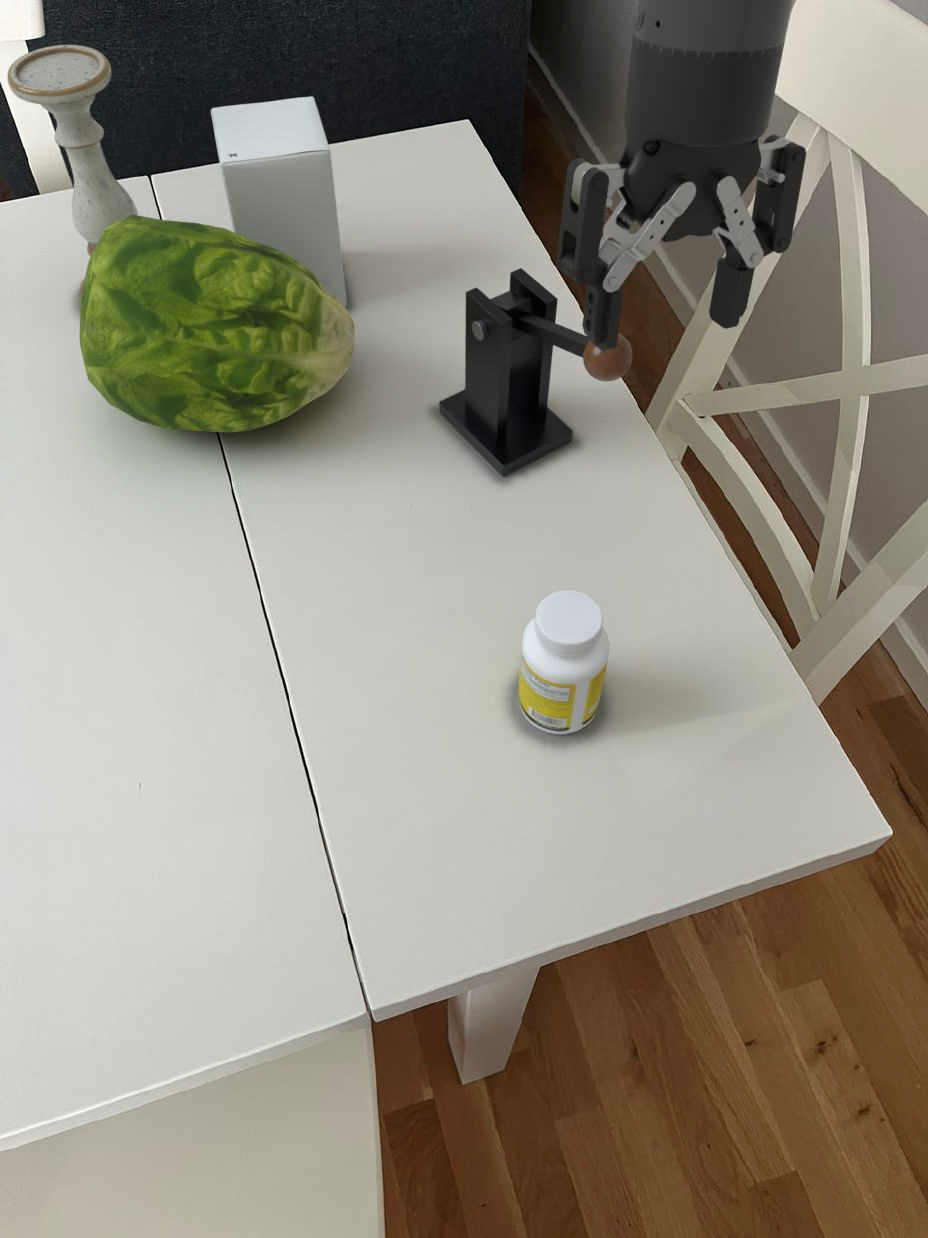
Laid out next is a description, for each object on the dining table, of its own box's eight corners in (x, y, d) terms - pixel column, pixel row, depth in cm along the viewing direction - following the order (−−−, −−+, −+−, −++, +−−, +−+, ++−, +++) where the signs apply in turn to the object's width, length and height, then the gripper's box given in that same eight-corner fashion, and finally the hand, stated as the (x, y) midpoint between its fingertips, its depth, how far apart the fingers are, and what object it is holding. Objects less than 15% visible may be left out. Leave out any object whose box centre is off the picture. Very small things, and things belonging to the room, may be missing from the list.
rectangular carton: (350, 308, 90) (332, 149, 78) (251, 323, 89) (217, 164, 76) (334, 250, 95) (315, 92, 83) (241, 263, 94) (208, 104, 81)
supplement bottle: (579, 658, 68) (595, 570, 60) (610, 723, 65) (631, 640, 57) (505, 679, 67) (511, 592, 59) (533, 746, 64) (544, 665, 56)
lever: (644, 376, 65) (641, 330, 63) (606, 395, 64) (602, 349, 62) (519, 323, 75) (513, 282, 73) (485, 339, 74) (478, 298, 72)
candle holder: (199, 288, 91) (141, 60, 75) (128, 338, 87) (50, 108, 71) (133, 254, 94) (63, 28, 78) (61, 301, 90) (-28, 72, 74)
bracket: (572, 441, 80) (589, 310, 70) (502, 477, 78) (509, 347, 67) (506, 379, 84) (513, 247, 74) (439, 412, 82) (435, 280, 72)
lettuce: (334, 496, 80) (380, 332, 70) (58, 450, 74) (66, 262, 64) (327, 386, 91) (367, 231, 81) (88, 338, 85) (98, 163, 75)
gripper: (622, 55, 45) (589, 382, 55) (873, 32, 49) (798, 340, 60) (548, 24, 50) (531, 328, 60) (780, 5, 54) (727, 293, 65)
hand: (663, 334), depth 60 cm, fingers open, 8 cm apart
